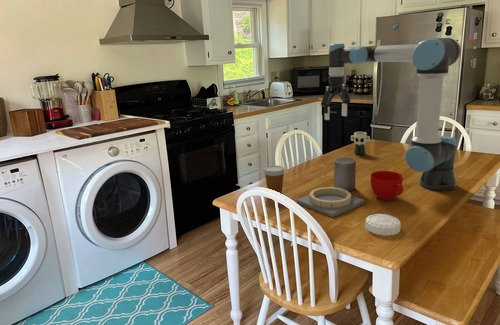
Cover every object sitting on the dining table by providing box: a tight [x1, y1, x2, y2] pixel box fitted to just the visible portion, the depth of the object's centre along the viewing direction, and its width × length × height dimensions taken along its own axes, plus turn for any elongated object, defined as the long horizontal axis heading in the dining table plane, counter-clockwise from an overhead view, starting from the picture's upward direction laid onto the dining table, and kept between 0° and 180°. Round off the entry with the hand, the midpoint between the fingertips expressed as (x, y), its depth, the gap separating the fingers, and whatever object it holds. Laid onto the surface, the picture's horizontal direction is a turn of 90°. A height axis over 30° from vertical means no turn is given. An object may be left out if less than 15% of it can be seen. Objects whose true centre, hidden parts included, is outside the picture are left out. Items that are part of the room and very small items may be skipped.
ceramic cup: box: [370, 170, 404, 201], centre depth 161 cm, size 13×17×10 cm
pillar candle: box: [333, 156, 357, 193], centre depth 175 cm, size 10×10×15 cm
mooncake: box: [364, 213, 401, 237], centre depth 137 cm, size 12×12×4 cm
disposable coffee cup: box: [263, 165, 286, 193], centre depth 174 cm, size 10×10×12 cm
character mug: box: [350, 131, 371, 155], centre depth 230 cm, size 11×7×13 cm, turn 67°
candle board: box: [295, 186, 365, 218], centre depth 161 cm, size 20×20×4 cm
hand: (335, 117), depth 197 cm, fingers open, 13 cm apart
